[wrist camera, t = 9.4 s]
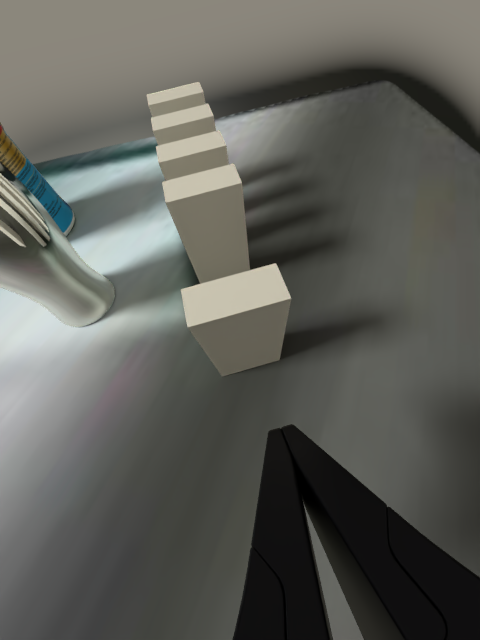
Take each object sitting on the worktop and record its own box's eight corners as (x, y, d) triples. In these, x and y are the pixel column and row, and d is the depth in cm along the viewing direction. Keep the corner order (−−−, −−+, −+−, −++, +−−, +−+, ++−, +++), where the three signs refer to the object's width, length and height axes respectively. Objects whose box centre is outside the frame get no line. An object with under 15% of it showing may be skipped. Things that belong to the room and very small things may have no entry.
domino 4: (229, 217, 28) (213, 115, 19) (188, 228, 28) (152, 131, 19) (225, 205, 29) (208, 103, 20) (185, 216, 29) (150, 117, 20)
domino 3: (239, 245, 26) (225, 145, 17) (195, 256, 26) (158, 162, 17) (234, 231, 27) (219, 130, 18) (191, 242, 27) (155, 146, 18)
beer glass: (122, 318, 23) (-68, 158, 10) (52, 341, 23) (-244, 207, 10) (116, 265, 27) (-35, 90, 13) (54, 285, 26) (-167, 125, 13)
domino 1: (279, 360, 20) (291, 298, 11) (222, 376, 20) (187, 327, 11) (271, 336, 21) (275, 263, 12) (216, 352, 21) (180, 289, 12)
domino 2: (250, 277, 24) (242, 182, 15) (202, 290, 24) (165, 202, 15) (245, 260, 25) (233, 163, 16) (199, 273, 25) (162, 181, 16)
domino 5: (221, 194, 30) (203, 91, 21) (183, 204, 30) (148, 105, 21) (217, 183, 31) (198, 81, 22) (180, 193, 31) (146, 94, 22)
